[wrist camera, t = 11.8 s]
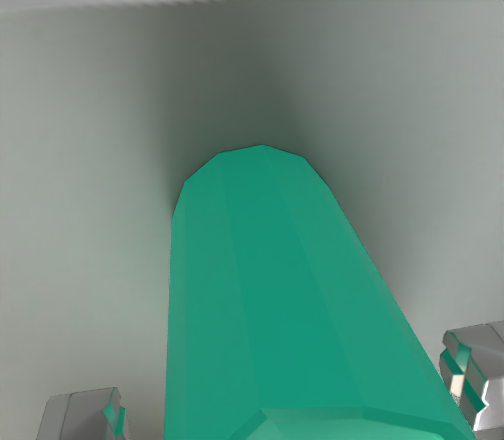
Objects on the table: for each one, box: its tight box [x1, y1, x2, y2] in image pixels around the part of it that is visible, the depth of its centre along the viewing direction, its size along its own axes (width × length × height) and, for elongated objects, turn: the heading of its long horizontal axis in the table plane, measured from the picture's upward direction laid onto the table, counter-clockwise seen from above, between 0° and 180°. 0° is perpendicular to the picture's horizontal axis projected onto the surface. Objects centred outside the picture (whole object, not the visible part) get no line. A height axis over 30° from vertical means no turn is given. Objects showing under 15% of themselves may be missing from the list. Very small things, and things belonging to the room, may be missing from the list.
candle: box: [164, 145, 477, 440], centre depth 12 cm, size 6×6×12 cm
